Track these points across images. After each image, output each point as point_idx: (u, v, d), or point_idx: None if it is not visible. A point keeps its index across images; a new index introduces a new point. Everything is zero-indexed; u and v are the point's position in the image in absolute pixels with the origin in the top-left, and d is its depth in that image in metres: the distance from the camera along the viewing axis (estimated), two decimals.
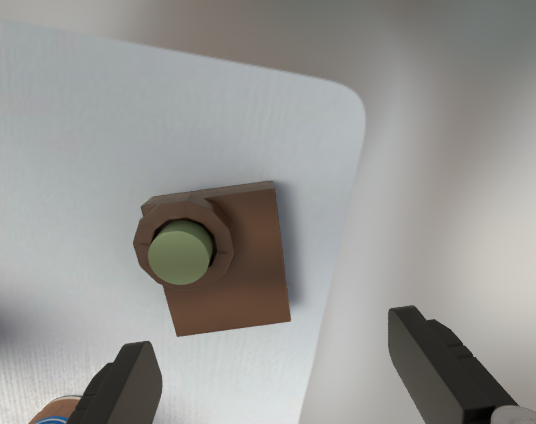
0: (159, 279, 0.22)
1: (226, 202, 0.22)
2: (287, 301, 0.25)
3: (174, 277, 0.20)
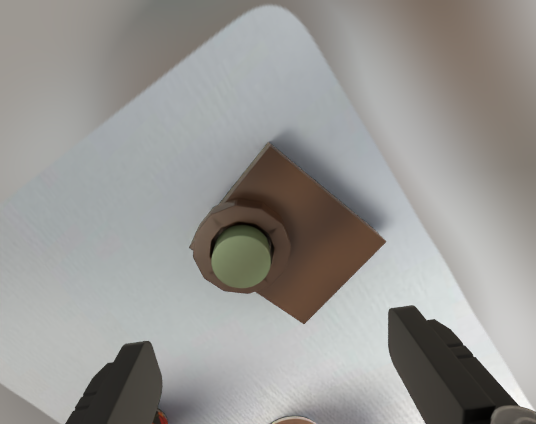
0: (246, 290, 0.23)
1: (244, 190, 0.22)
2: (367, 227, 0.23)
3: (251, 279, 0.21)
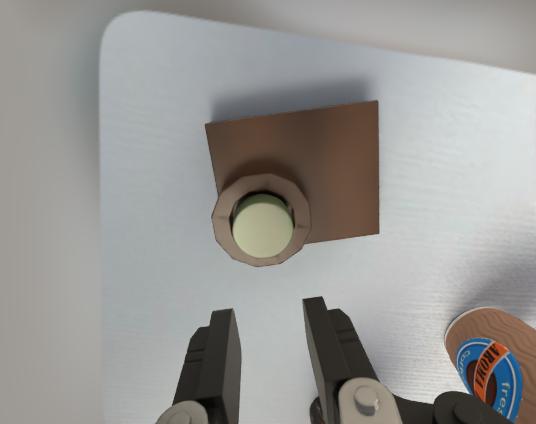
0: (296, 247, 0.22)
1: (222, 175, 0.22)
2: (348, 106, 0.21)
3: (284, 236, 0.20)
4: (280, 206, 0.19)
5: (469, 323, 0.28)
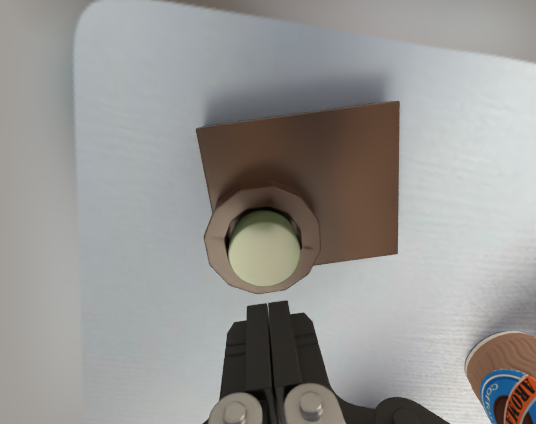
0: (303, 272, 0.19)
1: (216, 188, 0.19)
2: (364, 107, 0.18)
3: (289, 262, 0.17)
4: (285, 226, 0.16)
5: (495, 351, 0.25)
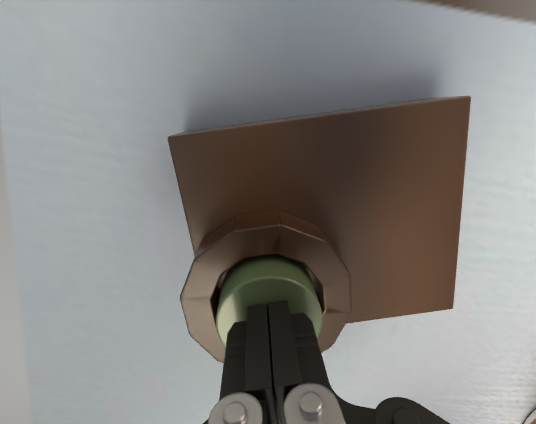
0: (325, 343, 0.13)
1: (200, 222, 0.13)
2: (418, 105, 0.12)
3: None
4: (300, 282, 0.11)
5: None
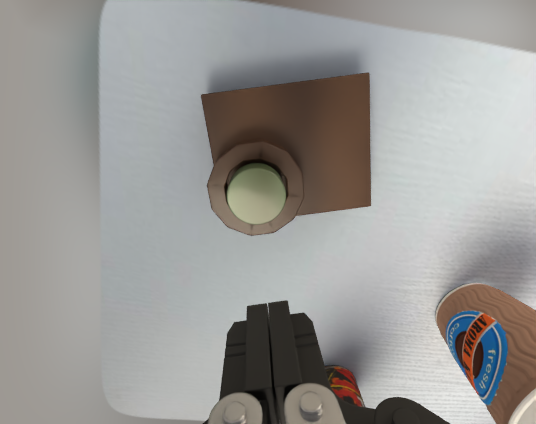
0: (289, 216, 0.23)
1: (217, 146, 0.22)
2: (340, 77, 0.21)
3: (276, 203, 0.20)
4: (273, 173, 0.20)
5: (459, 298, 0.29)
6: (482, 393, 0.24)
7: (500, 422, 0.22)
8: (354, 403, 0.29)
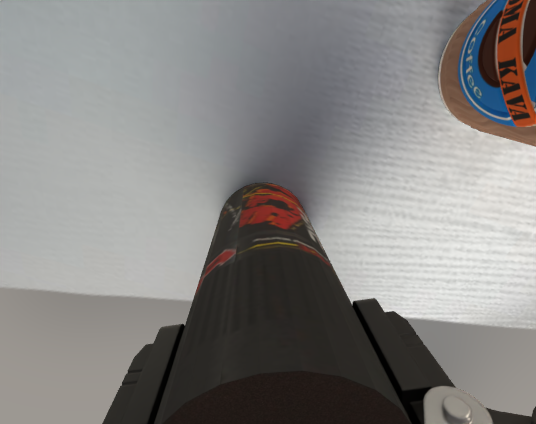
0: None
1: None
2: None
3: None
4: None
5: (482, 4, 0.15)
6: None
7: None
8: (288, 206, 0.16)
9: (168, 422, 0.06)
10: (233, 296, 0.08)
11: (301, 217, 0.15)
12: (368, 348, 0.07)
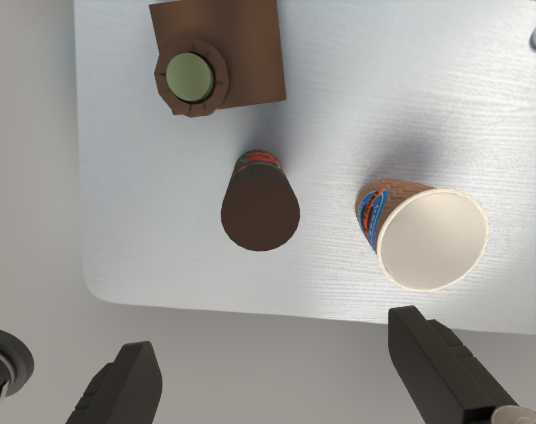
0: (219, 101, 0.30)
1: (163, 47, 0.29)
2: None
3: (204, 82, 0.28)
4: None
5: (368, 187, 0.36)
6: (371, 241, 0.31)
7: (377, 252, 0.29)
8: (269, 157, 0.32)
9: (229, 192, 0.22)
10: (245, 172, 0.24)
11: (275, 162, 0.31)
12: (288, 184, 0.23)
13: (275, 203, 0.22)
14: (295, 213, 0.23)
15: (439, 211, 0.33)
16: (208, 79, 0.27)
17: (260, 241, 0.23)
